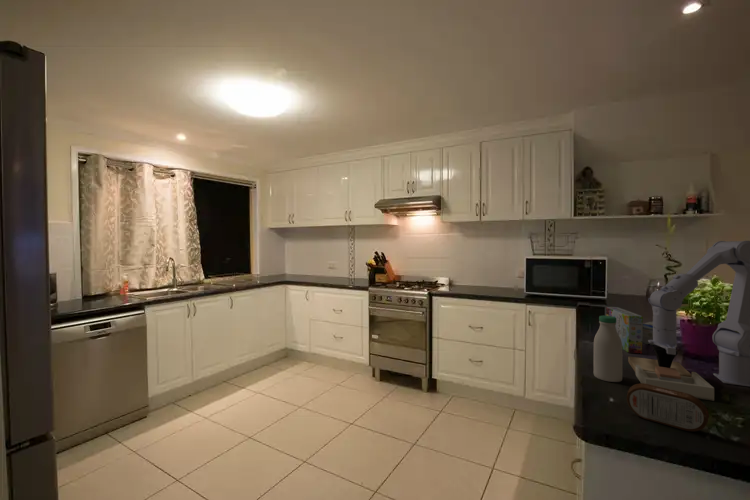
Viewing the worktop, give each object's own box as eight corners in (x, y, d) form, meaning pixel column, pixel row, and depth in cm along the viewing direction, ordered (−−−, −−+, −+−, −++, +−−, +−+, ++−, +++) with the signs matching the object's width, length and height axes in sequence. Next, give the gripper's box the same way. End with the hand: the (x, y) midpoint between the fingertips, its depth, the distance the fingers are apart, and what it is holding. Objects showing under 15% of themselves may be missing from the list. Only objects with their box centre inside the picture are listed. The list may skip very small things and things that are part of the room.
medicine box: (650, 340, 150) (650, 321, 150) (662, 343, 146) (662, 323, 146) (641, 343, 146) (641, 323, 146) (654, 345, 142) (654, 325, 142)
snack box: (644, 354, 132) (644, 316, 131) (627, 353, 133) (627, 315, 133) (618, 339, 152) (618, 306, 152) (604, 338, 154) (604, 306, 153)
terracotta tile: (675, 374, 106) (675, 368, 105) (680, 382, 101) (681, 376, 101) (655, 371, 108) (655, 366, 108) (659, 379, 104) (659, 373, 103)
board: (677, 367, 117) (677, 362, 117) (693, 382, 104) (693, 376, 104) (628, 361, 123) (628, 356, 123) (637, 375, 111) (637, 369, 111)
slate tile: (680, 385, 101) (680, 379, 101) (686, 392, 97) (686, 385, 97) (659, 382, 103) (659, 376, 103) (664, 389, 99) (664, 382, 99)
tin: (708, 433, 77) (709, 396, 77) (709, 438, 75) (709, 401, 74) (627, 410, 87) (627, 378, 87) (625, 415, 85) (625, 382, 85)
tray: (695, 383, 104) (695, 372, 104) (714, 400, 92) (714, 388, 92) (635, 375, 111) (635, 364, 111) (645, 390, 99) (645, 378, 99)
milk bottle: (627, 383, 104) (627, 319, 104) (599, 381, 106) (599, 318, 105) (615, 374, 112) (615, 314, 111) (589, 372, 113) (589, 313, 113)
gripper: (643, 322, 116) (643, 361, 116) (654, 332, 103) (654, 376, 103) (669, 324, 112) (669, 364, 112) (685, 334, 99) (685, 380, 100)
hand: (664, 370), depth 107 cm, fingers closed
